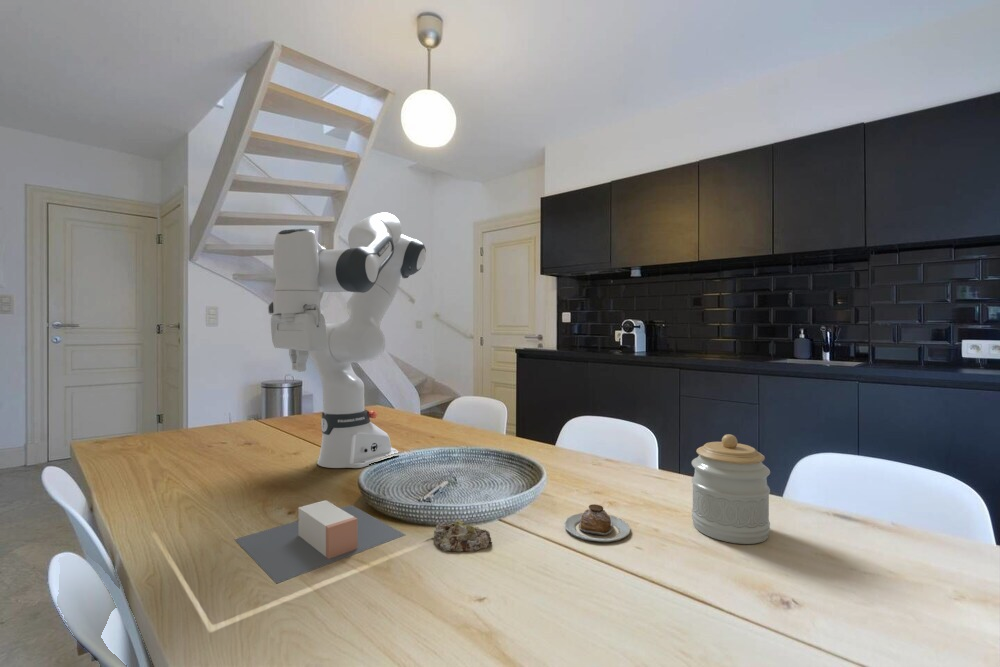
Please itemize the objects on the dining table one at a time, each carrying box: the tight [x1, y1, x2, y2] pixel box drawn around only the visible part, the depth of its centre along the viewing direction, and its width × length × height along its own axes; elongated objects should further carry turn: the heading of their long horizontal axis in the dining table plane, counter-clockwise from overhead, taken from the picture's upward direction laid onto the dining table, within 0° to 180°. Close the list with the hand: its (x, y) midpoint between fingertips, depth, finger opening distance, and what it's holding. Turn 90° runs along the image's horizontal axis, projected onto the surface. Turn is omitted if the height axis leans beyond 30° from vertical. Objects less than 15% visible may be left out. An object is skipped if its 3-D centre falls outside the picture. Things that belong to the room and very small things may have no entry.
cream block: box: [297, 499, 358, 559], centre depth 80 cm, size 5×5×12 cm
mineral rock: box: [433, 519, 493, 553], centre depth 81 cm, size 11×4×8 cm
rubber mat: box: [234, 504, 406, 584], centre depth 81 cm, size 22×20×1 cm
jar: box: [691, 433, 771, 545], centre depth 85 cm, size 13×13×18 cm
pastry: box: [564, 504, 631, 543], centre depth 86 cm, size 12×12×5 cm
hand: (299, 371), depth 97 cm, fingers closed
